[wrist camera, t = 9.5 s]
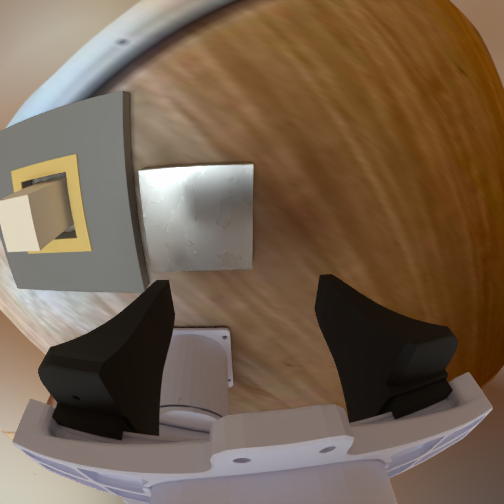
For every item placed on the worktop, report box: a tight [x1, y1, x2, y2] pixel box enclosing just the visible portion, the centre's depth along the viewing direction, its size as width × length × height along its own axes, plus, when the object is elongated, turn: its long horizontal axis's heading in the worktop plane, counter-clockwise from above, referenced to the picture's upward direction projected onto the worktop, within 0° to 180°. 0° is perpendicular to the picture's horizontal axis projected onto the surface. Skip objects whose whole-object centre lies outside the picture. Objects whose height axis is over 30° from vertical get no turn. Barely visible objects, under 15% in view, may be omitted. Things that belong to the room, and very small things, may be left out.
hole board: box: [0, 91, 149, 293], centre depth 18 cm, size 16×16×2 cm
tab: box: [139, 162, 253, 272], centre depth 20 cm, size 8×8×2 cm
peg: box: [0, 177, 74, 252], centre depth 16 cm, size 4×4×6 cm
